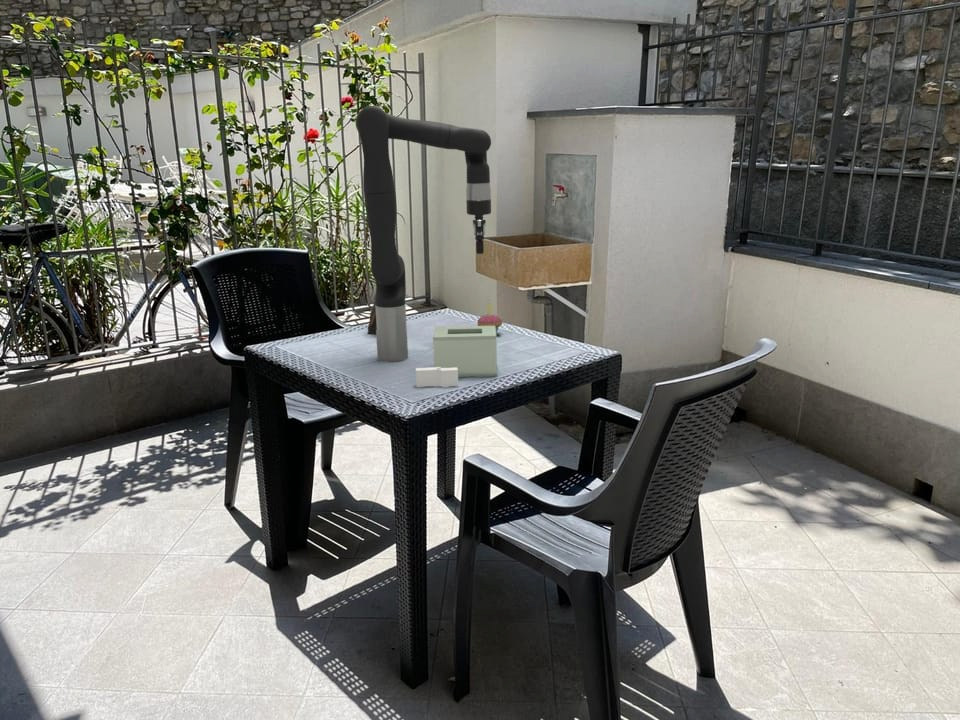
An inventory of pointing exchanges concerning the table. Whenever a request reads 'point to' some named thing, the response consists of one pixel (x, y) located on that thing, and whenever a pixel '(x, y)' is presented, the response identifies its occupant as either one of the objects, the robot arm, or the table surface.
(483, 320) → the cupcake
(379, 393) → the table surface
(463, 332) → the box
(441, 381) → the napkin holder
